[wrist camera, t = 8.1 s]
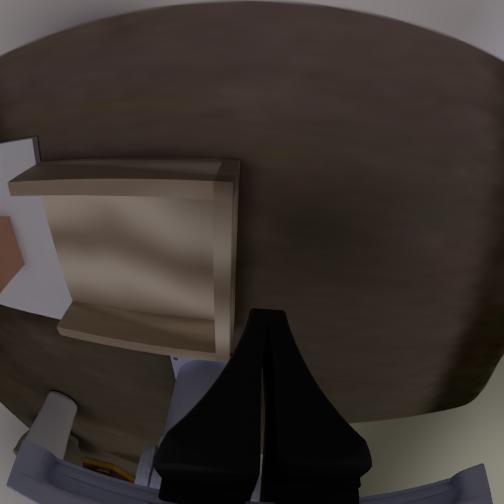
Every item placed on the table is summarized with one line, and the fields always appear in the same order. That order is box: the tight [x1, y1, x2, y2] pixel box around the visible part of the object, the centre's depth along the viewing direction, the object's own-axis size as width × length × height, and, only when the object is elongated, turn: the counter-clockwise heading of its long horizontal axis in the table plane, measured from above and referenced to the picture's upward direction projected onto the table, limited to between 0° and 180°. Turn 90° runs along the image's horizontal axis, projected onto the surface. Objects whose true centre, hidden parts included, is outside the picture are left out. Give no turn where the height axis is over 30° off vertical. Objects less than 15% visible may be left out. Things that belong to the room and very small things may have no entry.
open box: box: [7, 157, 240, 362], centre depth 21 cm, size 14×15×4 cm
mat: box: [0, 136, 72, 319], centre depth 22 cm, size 18×14×1 cm
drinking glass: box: [25, 391, 78, 460], centre depth 33 cm, size 7×7×15 cm
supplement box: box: [83, 458, 135, 484], centre depth 56 cm, size 10×15×16 cm
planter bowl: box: [13, 431, 83, 468], centre depth 46 cm, size 16×16×11 cm
